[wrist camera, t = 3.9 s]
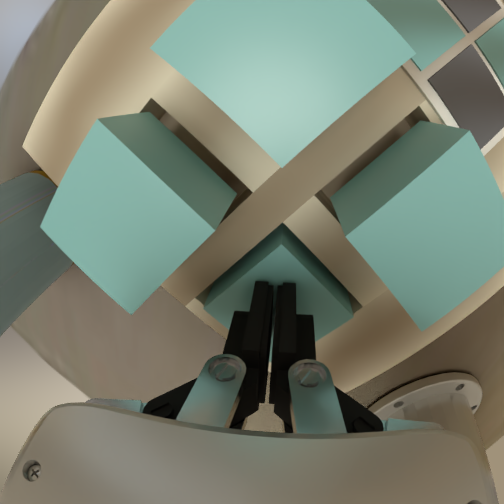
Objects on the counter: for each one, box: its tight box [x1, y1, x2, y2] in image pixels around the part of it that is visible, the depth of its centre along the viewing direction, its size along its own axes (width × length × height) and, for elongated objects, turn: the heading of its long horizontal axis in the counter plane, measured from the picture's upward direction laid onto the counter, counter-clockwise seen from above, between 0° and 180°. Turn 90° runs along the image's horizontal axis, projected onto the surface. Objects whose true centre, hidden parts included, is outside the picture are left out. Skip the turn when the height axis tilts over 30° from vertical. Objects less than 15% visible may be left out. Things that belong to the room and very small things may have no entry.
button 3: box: [150, 0, 416, 168], centre depth 7 cm, size 5×5×4 cm
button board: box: [22, 0, 504, 393], centre depth 11 cm, size 22×21×4 cm
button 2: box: [203, 222, 354, 362], centre depth 14 cm, size 5×5×4 cm
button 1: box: [330, 120, 504, 332], centre depth 9 cm, size 5×5×4 cm
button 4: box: [40, 112, 237, 315], centre depth 10 cm, size 5×5×4 cm
